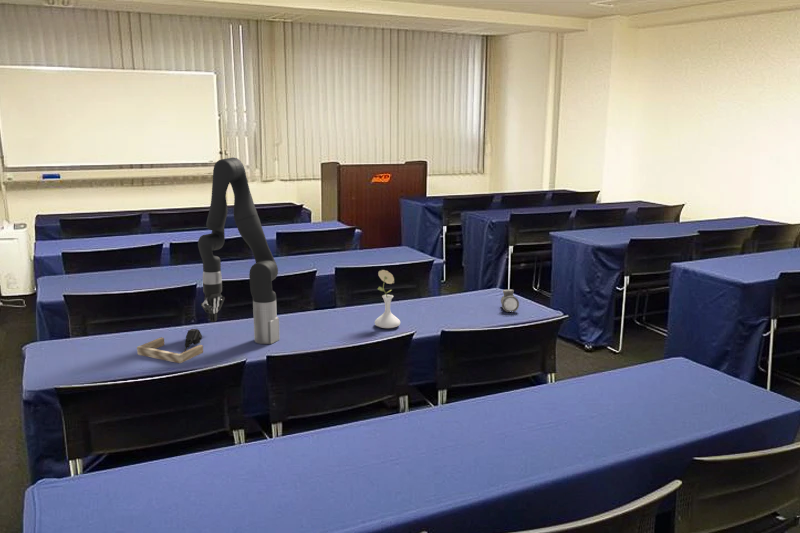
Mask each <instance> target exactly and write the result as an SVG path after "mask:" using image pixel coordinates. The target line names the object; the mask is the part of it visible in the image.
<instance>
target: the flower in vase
mask: <svg viewBox="0 0 800 533" xmlns="http://www.w3.org/2000/svg"><path fill="white" fill-rule="evenodd" d="M377 274H378V277H379V279H380V280H381V281H382V282H383V284H382V286H378V288H377V290H378V291H379V292H384V294H383V295H381V297H382V298H383V301H384V312H383V313H382V314H381V315H380V316H378V317H377V318H376V319H375V320H374V324H375V326H376V327H378V328H382V329H394V328H396V327H398V326H400V325H401V320H400V319H399V318H398V317H396V315H394V314H393V313H392V311H391V302H392V299H393V298H394V295H393V294H388V293H391V291H393V289H389V290H388V291H386V290H385V288H384V287H385V283H386V284H389V285H392V284H395V277H394V275H393V274H392V273H391V272H389V271H388V270H385V269H381V270H379V271H378V273H377Z"/></svg>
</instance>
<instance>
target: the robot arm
mask: <svg viewBox="0 0 800 533" xmlns="http://www.w3.org/2000/svg"><path fill="white" fill-rule="evenodd" d="M229 185H231V189H232V192H233V198H234V200H233V202H234V203H233V218H234V221H235V226H236V228H237V230H238V233H239V235H240V237H241V238H242V239H243V240H244V242H245V243H246V244H247V245H248V247H249V248H250V250H251V252H252V254H253V257H254V261H255V263H254V264H253V265H252V266H251V267H250V269H249V287H250V288H249V289H250V294H251V297H252V308H253V309H252V312H253V315H252V316H253V336H254V337H253V338H254V343H257V344H259V345H267V344H269V345H271V344H274V343H276V342H278V341H280V339H281V337H280V318H279V317H278V315H277V312H278V311H277V294H276V292H275V291H274V290H273V282H272V281H274V280H276V278H277V276H278V275H279V267H278V265H277V263H276V260H275V258H274V256H273V253H272V251H271V249H270V247H269V245H268V241H267V239H266V235H265V232H264V229H263V226H262V223H261V219H260V217H259V215H258V211H257V209H256V206H255V205H256V204H255V202H254V200H253V196H252V194H251V191H250V186H249V182H248V178H247V173H246V169H245V165H244V164H243V163H242V161H241V160H240V159H239V158H237V157H228V158H221V159H219V160H217V161H216V162H215V163H214V166H213V171H212V185H211V187H212V188H211V198H210V199H211V200H210V206H209V211H208V214H207V219H206V228H207V229H208V230H210V231H211V233H206V234H202V235H201V236H200V237H199V239H198V241H197V247H198V251H199V255H200V257H201V259H202V270H203V271H202V286H203V287H202V290H203V294H204V301H203V302H201V303H200V306H201V308H202V309H203V311H205V313H207V314H209V320H210V322H212V323H215V322H217V321H218V312H219V311H220V310H221V309H222V306H223V305H224V301H225V299H226V298H225V296H223V295H222V294H221V293H222V292H223V280H222V279H223V278H222V276H223V275H222V269H221V268H222V266H221V264H222V262H221V258H220V257H219V256H217V255H214V254H213V253H214V252H213V251H218V250H220V249H222V248H223V246H224V244H225V240H226V238H225V237H226V236H225V235H226V234H225V224H226V220H227V218H228V204H227V191H228V188H229Z"/></svg>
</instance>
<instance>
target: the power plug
mask: <svg viewBox="0 0 800 533" xmlns="http://www.w3.org/2000/svg"><path fill="white" fill-rule="evenodd" d="M186 333H187V334H186V336H185V342H184V347H185V348H184V350H183V352H185V351H187V350H188V348H190V346H191V345H197V344H201V343H202V339H203V338H202V337H203V335H202V333H201V331H200V330H199V329H198V328H191V329H189V330H187V332H186Z"/></svg>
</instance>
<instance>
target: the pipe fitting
mask: <svg viewBox="0 0 800 533" xmlns="http://www.w3.org/2000/svg"><path fill="white" fill-rule="evenodd" d="M514 291H515V290H514V289H511V288H510V289H504V290H502V293H503V296H502V297H501V298H500V304H501V308H502V309H503V310H504V311H505V312H506V313H508V312H510V311H511V312H512V311H513V312H512V313H514V311H515V312H516V311H517V310H518V309H519V308H520V302H519V298H517V297H516V296H514Z"/></svg>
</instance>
